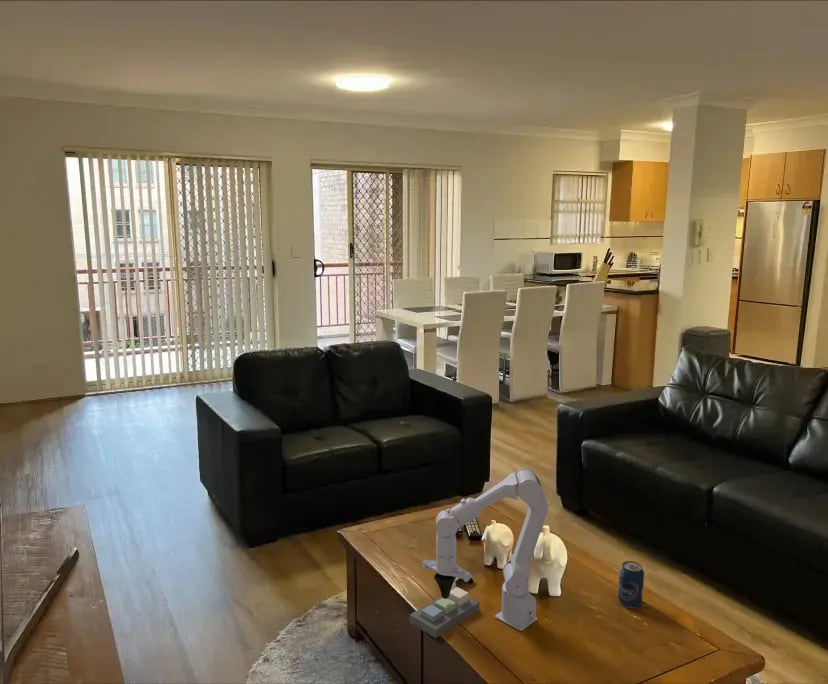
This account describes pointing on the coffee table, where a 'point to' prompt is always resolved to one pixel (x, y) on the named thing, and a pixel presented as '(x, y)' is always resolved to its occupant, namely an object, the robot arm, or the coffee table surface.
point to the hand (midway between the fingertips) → (445, 596)
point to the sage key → (445, 605)
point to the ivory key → (458, 596)
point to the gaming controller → (461, 580)
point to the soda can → (631, 584)
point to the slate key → (432, 614)
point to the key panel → (444, 618)
